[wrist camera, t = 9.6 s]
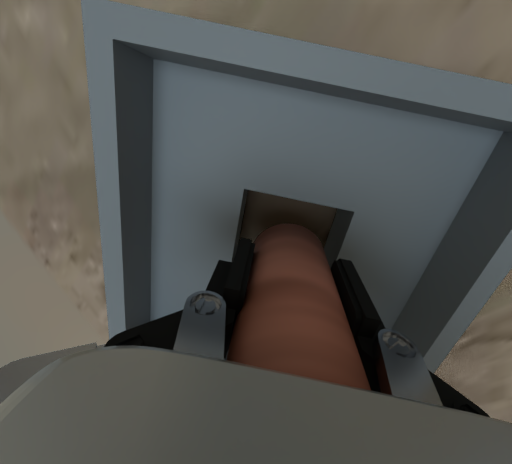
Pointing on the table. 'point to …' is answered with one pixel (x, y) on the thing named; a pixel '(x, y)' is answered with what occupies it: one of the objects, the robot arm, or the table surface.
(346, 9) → the table surface
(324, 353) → the peg
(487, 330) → the table surface
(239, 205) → the tray
